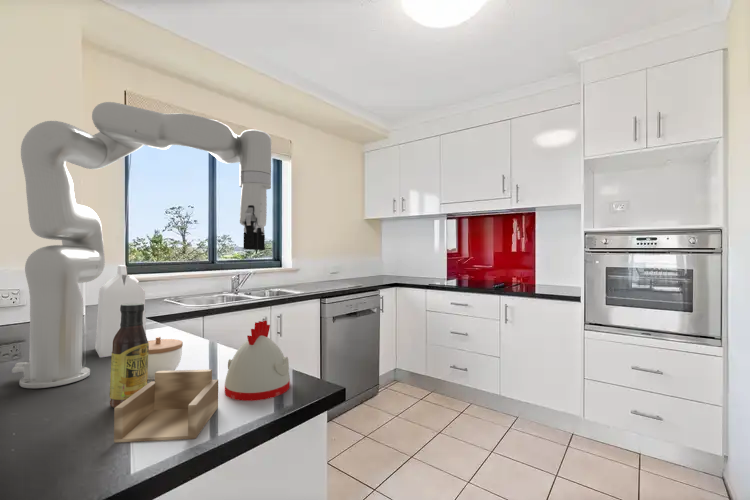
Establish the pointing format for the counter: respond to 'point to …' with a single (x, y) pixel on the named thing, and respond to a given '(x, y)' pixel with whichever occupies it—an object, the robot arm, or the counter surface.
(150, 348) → the lidded jar
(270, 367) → the kitchen timer
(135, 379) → the sauce bottle
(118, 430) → the oak rest
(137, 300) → the milk
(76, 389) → the counter surface
